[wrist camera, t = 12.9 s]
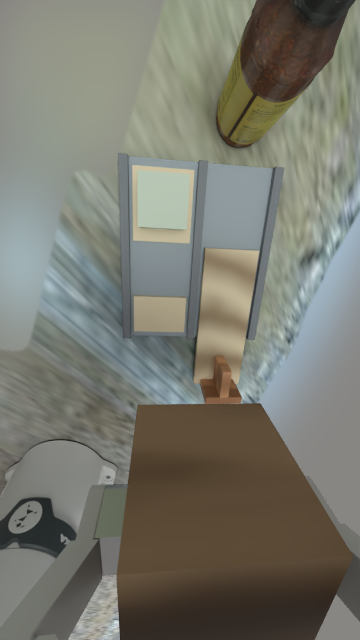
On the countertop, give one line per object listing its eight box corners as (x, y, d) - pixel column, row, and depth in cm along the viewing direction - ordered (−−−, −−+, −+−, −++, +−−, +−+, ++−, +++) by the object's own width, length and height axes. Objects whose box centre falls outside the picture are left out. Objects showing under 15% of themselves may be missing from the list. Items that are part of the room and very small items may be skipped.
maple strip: (236, 381, 38) (247, 403, 33) (193, 381, 37) (198, 403, 33) (256, 250, 31) (274, 253, 27) (204, 247, 31) (212, 250, 26)
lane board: (250, 335, 37) (254, 339, 35) (125, 332, 35) (123, 337, 33) (277, 171, 29) (284, 167, 28) (120, 158, 28) (118, 153, 26)
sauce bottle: (278, 113, 27) (527, -143, 9) (242, 162, 29) (391, 33, 10) (236, 66, 26) (435, -373, 7) (200, 121, 27) (288, -125, 9)
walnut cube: (243, 489, 11) (302, 666, 7) (138, 494, 11) (122, 687, 6) (260, 403, 10) (353, 556, 5) (137, 404, 9) (116, 575, 5)
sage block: (182, 230, 29) (186, 229, 25) (141, 228, 29) (137, 226, 24) (185, 184, 28) (190, 173, 23) (141, 180, 27) (137, 169, 22)
